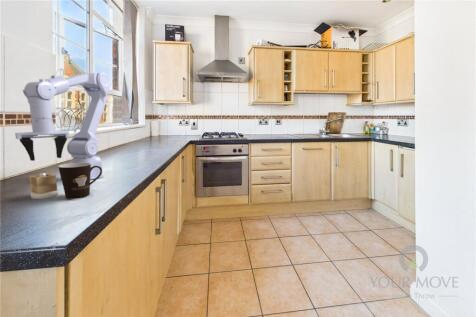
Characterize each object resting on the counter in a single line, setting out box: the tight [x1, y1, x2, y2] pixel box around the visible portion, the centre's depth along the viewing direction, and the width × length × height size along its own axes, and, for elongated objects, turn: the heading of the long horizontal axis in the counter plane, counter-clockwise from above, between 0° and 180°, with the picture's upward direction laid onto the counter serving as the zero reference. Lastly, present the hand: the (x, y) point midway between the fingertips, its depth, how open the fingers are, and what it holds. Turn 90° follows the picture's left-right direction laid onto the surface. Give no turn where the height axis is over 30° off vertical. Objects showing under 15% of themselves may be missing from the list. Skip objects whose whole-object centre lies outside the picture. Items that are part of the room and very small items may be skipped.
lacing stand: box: [30, 188, 59, 200], centre depth 82 cm, size 7×7×2 cm
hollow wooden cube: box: [29, 172, 58, 194], centre depth 82 cm, size 5×5×5 cm
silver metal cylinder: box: [38, 172, 47, 177], centre depth 82 cm, size 2×2×6 cm
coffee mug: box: [57, 162, 103, 200], centre depth 82 cm, size 12×9×10 cm
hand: (46, 159), depth 89 cm, fingers open, 7 cm apart
